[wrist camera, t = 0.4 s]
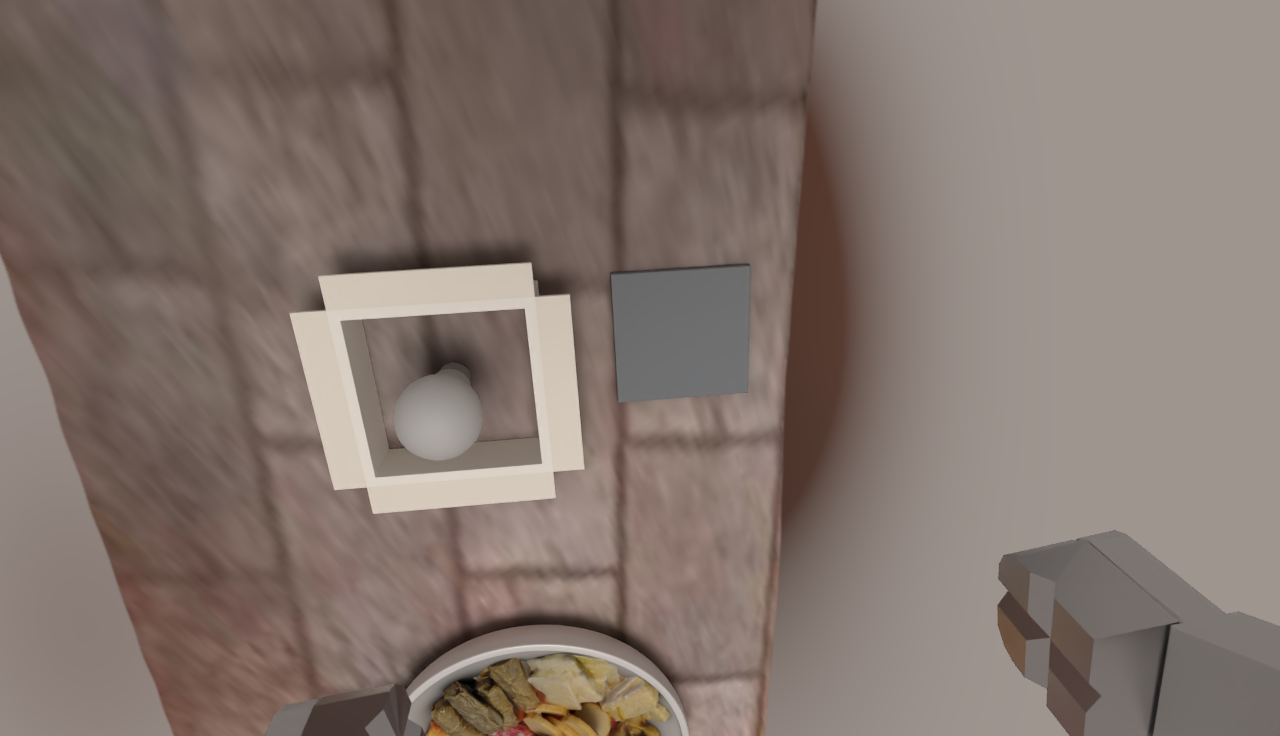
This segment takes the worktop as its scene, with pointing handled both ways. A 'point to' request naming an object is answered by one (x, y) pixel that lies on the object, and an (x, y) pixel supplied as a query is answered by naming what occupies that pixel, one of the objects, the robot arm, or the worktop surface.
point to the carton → (353, 403)
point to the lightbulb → (439, 414)
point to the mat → (681, 332)
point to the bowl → (545, 687)
